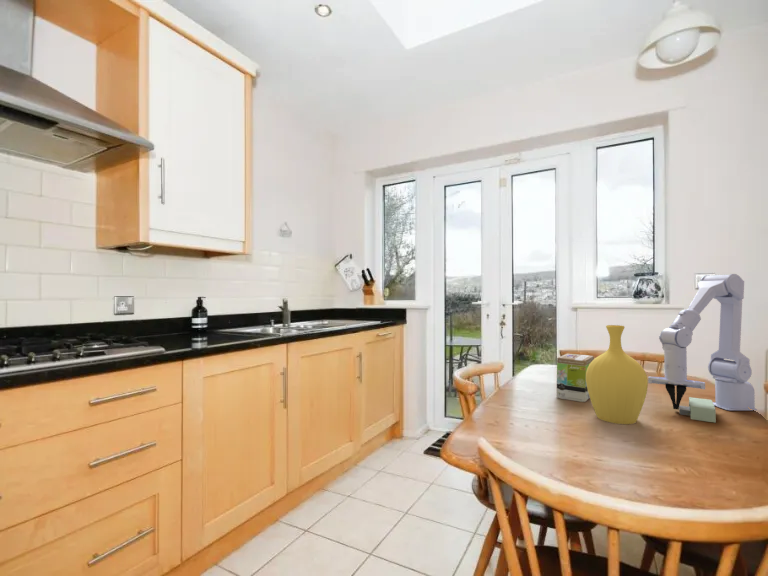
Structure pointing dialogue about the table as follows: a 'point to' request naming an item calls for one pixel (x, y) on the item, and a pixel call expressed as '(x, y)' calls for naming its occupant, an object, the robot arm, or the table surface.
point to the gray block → (684, 410)
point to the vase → (616, 382)
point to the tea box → (573, 377)
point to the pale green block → (702, 409)
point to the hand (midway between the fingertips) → (675, 408)
